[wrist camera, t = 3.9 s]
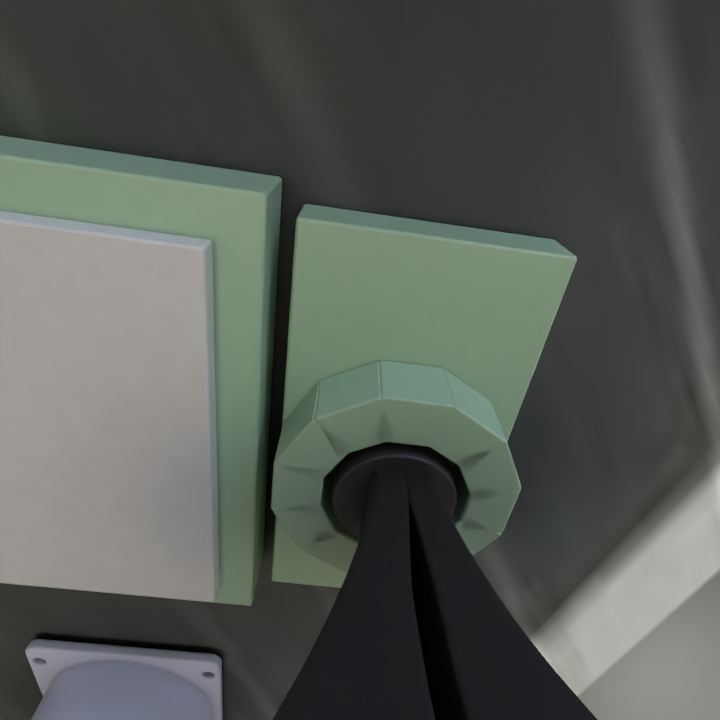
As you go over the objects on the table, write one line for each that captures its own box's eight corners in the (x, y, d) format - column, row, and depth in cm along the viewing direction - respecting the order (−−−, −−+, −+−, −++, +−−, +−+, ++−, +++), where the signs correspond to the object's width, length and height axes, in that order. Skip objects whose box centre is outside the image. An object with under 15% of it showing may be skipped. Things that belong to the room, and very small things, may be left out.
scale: (263, 554, 17) (247, 625, 15) (-114, 517, 16) (-192, 586, 14) (283, 176, 10) (260, 200, 8) (-346, 84, 10) (-564, 81, 7)
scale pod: (442, 562, 17) (455, 648, 14) (277, 546, 17) (261, 630, 14) (555, 239, 11) (614, 284, 8) (303, 202, 11) (283, 238, 8)
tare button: (433, 504, 13) (441, 550, 12) (329, 493, 13) (326, 539, 12) (459, 421, 12) (471, 464, 10) (342, 407, 12) (339, 448, 10)
